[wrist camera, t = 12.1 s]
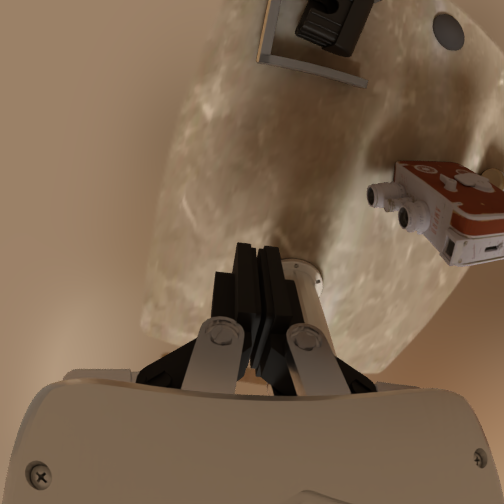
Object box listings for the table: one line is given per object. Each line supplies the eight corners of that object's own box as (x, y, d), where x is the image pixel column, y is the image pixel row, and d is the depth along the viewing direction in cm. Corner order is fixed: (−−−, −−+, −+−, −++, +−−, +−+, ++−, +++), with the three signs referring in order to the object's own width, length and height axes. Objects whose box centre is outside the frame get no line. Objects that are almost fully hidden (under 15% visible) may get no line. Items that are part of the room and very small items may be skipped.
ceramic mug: (485, 159, 40) (511, 175, 34) (503, 179, 42) (527, 196, 36) (460, 205, 45) (483, 225, 39) (480, 220, 47) (501, 240, 41)
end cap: (340, 59, 33) (358, 56, 27) (292, 37, 31) (302, 30, 26) (363, 4, 28) (383, -5, 22) (316, -18, 26) (330, -32, 21)
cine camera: (360, 151, 40) (435, 210, 24) (458, 154, 40) (539, 206, 23) (358, 207, 45) (416, 287, 29) (450, 202, 45) (519, 265, 28)
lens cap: (458, 56, 31) (461, 56, 30) (429, 39, 30) (432, 39, 29) (462, 26, 27) (466, 26, 26) (433, 8, 27) (437, 7, 26)
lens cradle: (358, 87, 35) (366, 88, 32) (255, 62, 33) (256, 61, 31) (375, -3, 27) (384, -8, 24) (274, -33, 25) (277, -40, 22)
